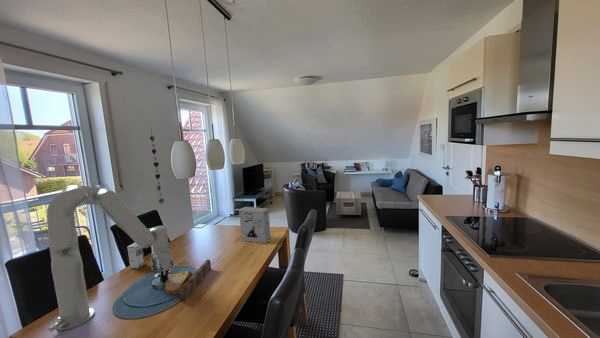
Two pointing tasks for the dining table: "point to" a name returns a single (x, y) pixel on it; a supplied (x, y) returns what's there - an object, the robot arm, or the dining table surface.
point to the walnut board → (194, 280)
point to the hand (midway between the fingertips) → (164, 280)
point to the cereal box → (255, 224)
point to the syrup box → (135, 256)
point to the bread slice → (176, 282)
